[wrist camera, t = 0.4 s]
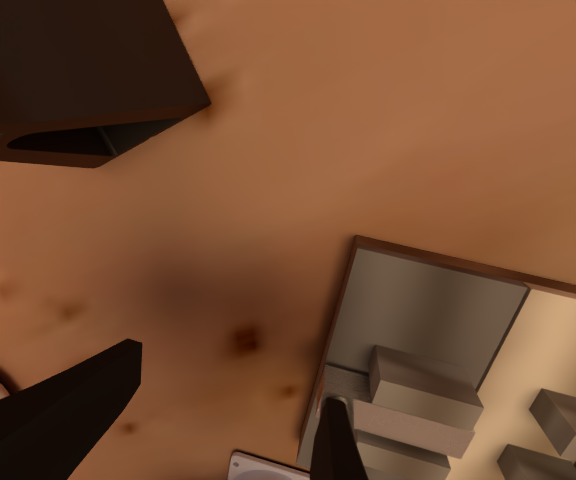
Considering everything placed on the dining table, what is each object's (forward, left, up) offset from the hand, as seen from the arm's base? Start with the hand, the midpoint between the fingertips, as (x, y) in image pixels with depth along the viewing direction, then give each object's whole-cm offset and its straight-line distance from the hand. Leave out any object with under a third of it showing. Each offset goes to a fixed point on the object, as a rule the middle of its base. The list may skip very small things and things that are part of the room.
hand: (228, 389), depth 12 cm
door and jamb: (-4, -13, -10) cm, 17 cm away
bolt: (-4, -8, -7) cm, 11 cm away
